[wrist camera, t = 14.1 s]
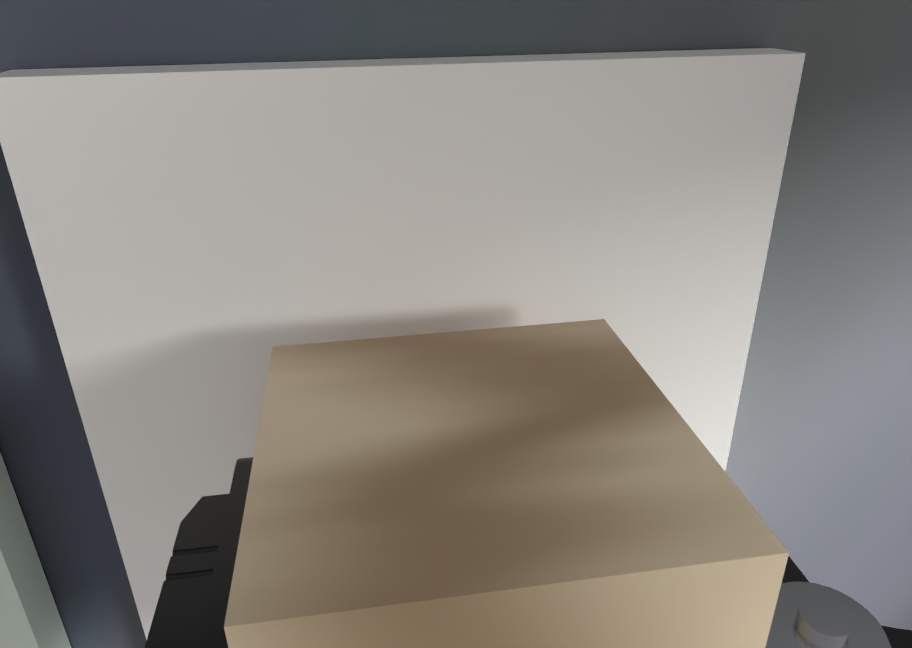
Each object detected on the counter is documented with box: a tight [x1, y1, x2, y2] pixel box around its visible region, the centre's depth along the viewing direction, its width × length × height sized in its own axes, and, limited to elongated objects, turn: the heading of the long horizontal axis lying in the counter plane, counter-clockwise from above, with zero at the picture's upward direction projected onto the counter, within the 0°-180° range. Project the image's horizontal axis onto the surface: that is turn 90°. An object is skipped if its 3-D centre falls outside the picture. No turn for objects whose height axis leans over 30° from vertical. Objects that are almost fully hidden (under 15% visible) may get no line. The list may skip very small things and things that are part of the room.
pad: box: [0, 48, 806, 640], centre depth 13 cm, size 12×12×1 cm
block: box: [224, 319, 789, 648], centre depth 9 cm, size 5×5×5 cm
